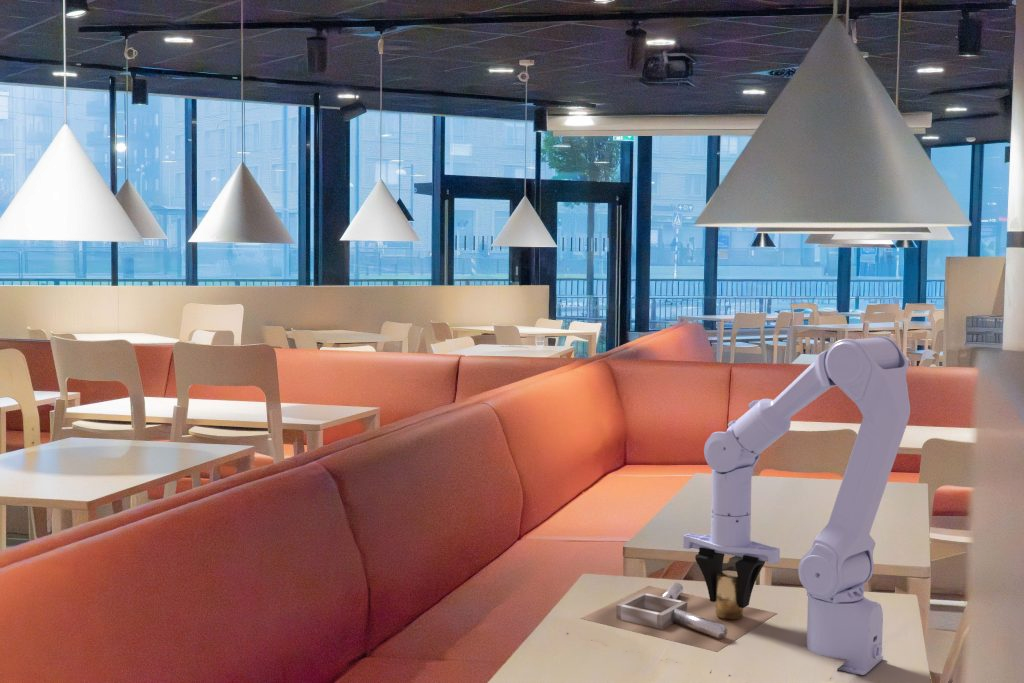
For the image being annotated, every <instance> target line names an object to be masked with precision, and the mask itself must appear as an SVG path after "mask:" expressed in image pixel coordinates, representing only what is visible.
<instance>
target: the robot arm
mask: <svg viewBox="0 0 1024 683" xmlns="http://www.w3.org/2000/svg"><path fill="white" fill-rule="evenodd" d="M909 366H910V362H909V360H908V359H907V357H906V355H905V354H904V353H903V351H902V349H901V348H900V346H899V345H898V343H897V342H896V341H894V340H893V339H891V338H890V337H888V336H884V335H876V336H872V337H868V338H866V337H865V338H856V339H852V338H843V339H839V340H837V341H836V342H834V343H833V344H832V345H831V346H830V347H829V348H828V349H825V350H824V351H822V352H820V353H819V354H818V355H817V357H816V358H815V360H814V361H813V362H812V363H811V364H810V365H809V366H808V367H807V368H806V369H804V370H803V372H801V373H800V374H799V375H798V376H797V377H796V378H795V379H794V380H793V381H792V382H791V383H790V384H789V385H788V386H787V387H786V388H785V389H784V390H783V391H781V393H780V394H779V395H777V396H776V397H775V398H774V399H771V398H762V399H756V400H752V402H749V403H748V408H749V410H747V411H746V412H744V413H743V415H741V416H740V417H739V418H737V420H736V419H734V420H731V421H730V422H729V423H727V427H728V428H727V429H726V431H715V432H712V433H711V434H710V435H709V437H708V438H707V440H706V441H705V443H704V447H703V453H704V454H703V455H704V459H705V461H706V463H707V465H708V466H709V468H711V493H710V494H711V496H710V497H711V498H710V500H711V504H710V506H711V507H710V534H700V533H691V532H689V533H685V534H684V535H683V536H682V537H683V538H682V543H683V544H682V545H683V546H682V548H683V549H688V550H690V549H695V550H698V554H695V556H694V557H695V558H694V559H695V561H696V563H697V565H698V567H699V569H700V572H701V573H702V576H703V578H704V582H705V585H706V587H707V588H706V589H707V591H708V597H709V599H710V601H711V602H715V601H716V573H717V572H719V571H722V565H723V563H724V559H725V555H729V556H732V557H734V556H739V557H743V559H742V560H739V561H737V562H736V564H735V565H736V569H737V575H738V585H739V590H738V605H739V607H740V608H744V607H749V605H750V600H751V596H752V592H753V589H754V586H755V583H756V581H757V579H758V578H759V577H758V576H759V574H760V572H761V570H762V569H763V567H764V566H765V564H766V562H767V564H771V565H775V564H777V563H779V562H780V559H781V556H780V554H781V552H780V551H781V549H780V547H775V546H770V545H766V544H763V543H760V542H757V541H753V540H752V539H751V530H752V529H751V527H752V526H751V522H752V520H751V516H752V515H751V514H752V513H751V512H752V477H754V470H755V466H756V465H757V464H758V463H759V460H760V458H761V454H762V453H763V452H764V451H765V450H766V449H768V448H769V447H771V446H772V444H774V443H775V442H777V440H778V439H780V438H781V437H783V435H785V434H786V433H787V432H789V430H790V429H791V420H792V419H791V418H792V417H794V416H795V415H796V414H797V413H799V412H801V410H803V409H805V407H807V406H809V404H811V403H812V402H814V401H815V400H816V399H818V398H819V397H820V396H822V395H823V394H824V393H826V392H827V391H828V390H829V389H830V390H831V388H833V387H838V388H839V389H840V390H841V391H842V392H843V394H845V395H846V396H847V397H848V398H849V399H850V400H851V401H852V402H853V403H854V404H855V405H856V406H857V409H858V410H859V411H860V413H861V415H862V419H861V422H860V425H859V429H858V432H857V435H856V438H855V440H854V441H855V442H854V444H853V447H852V451H851V453H850V456H849V459H848V462H847V465H846V468H845V472H844V475H843V477H842V480H841V483H840V487H839V490H838V492H837V496H836V498H835V502H834V505H833V507H832V508H833V509H832V511H831V514H830V516H829V520H828V522H827V524H826V525H825V526H824V527H823V529H821V531H820V532H819V533H818V534H817V536H815V538H814V539H813V542H812V544H811V548H810V549H809V550H808V552H805V554H804V555H803V556H802V557H801V559H800V561H799V563H798V568H797V569H798V570H797V572H798V573H797V574H798V578H799V581H800V583H801V585H802V587H803V588H804V589H805V591H806V596H807V614H806V616H807V618H806V619H807V620H806V621H807V623H806V648H807V649H808V650H809V651H810V652H812V653H814V654H816V655H819V656H823V657H827V658H835V659H841V660H845V662H843V663H842V664H841V665H840V666H839V667H837V670H839V671H842V672H843V671H844V672H847V673H852V674H856V675H860V676H864V675H866V674H868V672H870V671H871V670H872V669H874V668H875V666H876V665H878V664H879V663H880V662H881V661H882V660H883V659H884V655H883V654H882V652H883V629H884V628H883V624H884V623H883V621H884V620H883V618H884V617H883V616H884V615H883V614H884V613H883V608H882V605H881V603H879V602H876V601H874V600H870V599H868V598H866V597H865V596H864V595H865V584H866V583H867V582H869V580H871V578H872V576H873V574H874V571H875V570H874V569H875V568H874V567H875V565H874V557H873V556H874V549H875V546H876V542H875V539H874V538H873V536H871V535H870V533H871V531H872V527H873V524H874V522H875V519H876V516H877V513H878V510H879V507H880V504H881V501H882V498H883V495H884V493H885V489H886V486H887V483H888V480H889V478H890V475H891V472H892V469H893V467H894V463H895V461H896V458H897V454H898V453H899V449H900V445H901V443H902V440H903V438H904V434H905V432H906V431H905V430H906V428H907V425H908V423H909V420H910V416H911V404H910V397H909V396H910V395H909V390H908V389H909V387H908V381H907V371H908V368H909Z"/></svg>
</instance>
